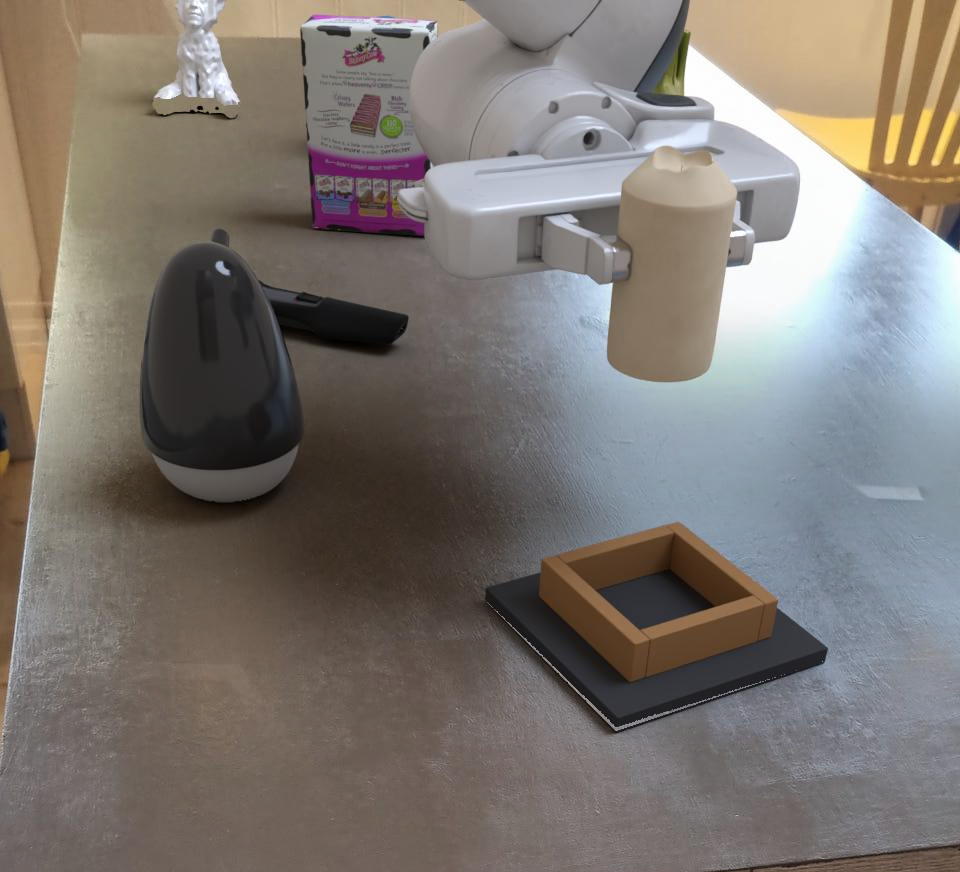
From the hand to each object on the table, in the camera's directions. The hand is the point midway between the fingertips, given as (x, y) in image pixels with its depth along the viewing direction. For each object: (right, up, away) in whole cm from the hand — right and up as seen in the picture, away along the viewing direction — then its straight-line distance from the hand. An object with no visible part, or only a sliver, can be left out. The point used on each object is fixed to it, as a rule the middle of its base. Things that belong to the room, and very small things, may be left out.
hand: (681, 259), depth 67 cm
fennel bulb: (+9, +43, +75) cm, 87 cm away
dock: (0, -16, +11) cm, 20 cm away
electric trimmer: (-23, +12, +41) cm, 49 cm away
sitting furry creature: (-41, +54, +85) cm, 109 cm away
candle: (-1, -4, +4) cm, 6 cm away
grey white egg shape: (-26, -5, +23) cm, 35 cm away
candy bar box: (-19, +29, +59) cm, 69 cm away
